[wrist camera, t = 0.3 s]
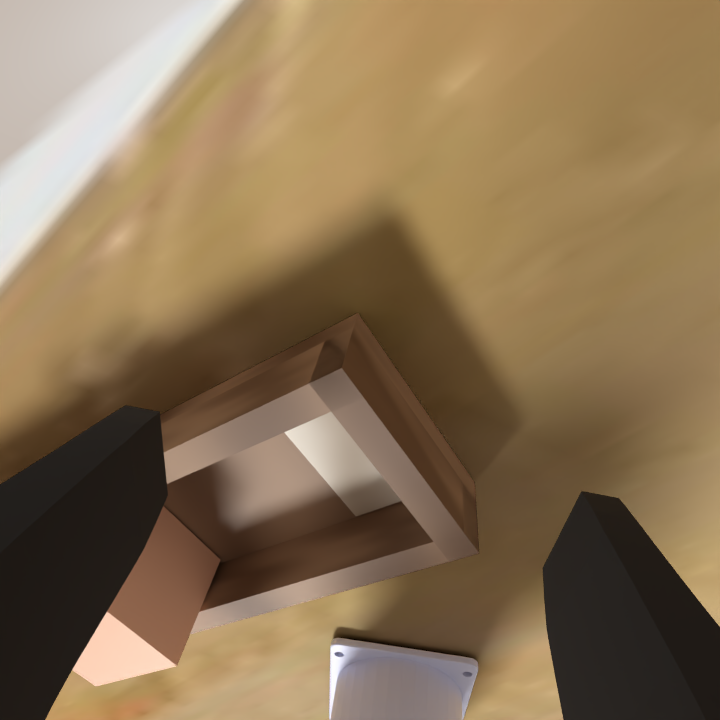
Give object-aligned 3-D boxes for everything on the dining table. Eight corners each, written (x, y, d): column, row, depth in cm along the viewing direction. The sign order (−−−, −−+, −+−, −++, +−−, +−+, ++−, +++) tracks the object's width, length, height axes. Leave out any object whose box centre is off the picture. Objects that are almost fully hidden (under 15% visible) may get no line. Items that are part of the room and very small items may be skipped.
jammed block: (148, 584, 28) (95, 686, 23) (59, 509, 25) (-17, 608, 21) (220, 559, 26) (176, 665, 21) (131, 476, 23) (63, 577, 19)
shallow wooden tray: (122, 601, 31) (88, 662, 28) (-5, 499, 27) (-59, 557, 24) (474, 482, 22) (479, 553, 19) (357, 312, 19) (341, 367, 16)
